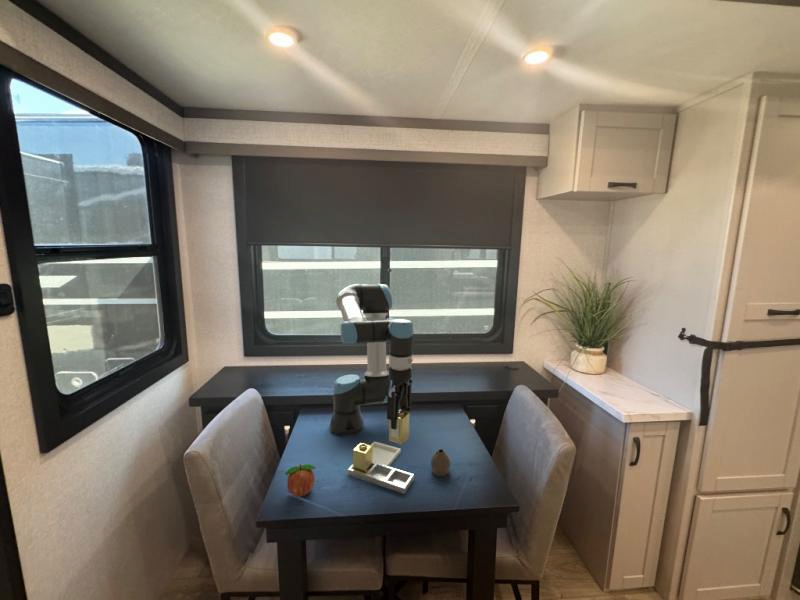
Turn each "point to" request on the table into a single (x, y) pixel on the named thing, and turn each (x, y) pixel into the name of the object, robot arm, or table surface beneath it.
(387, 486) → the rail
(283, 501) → the table surface
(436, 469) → the vase
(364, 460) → the brass block with knob
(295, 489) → the fruit
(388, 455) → the tray
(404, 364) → the robot arm
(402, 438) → the knobbed block
